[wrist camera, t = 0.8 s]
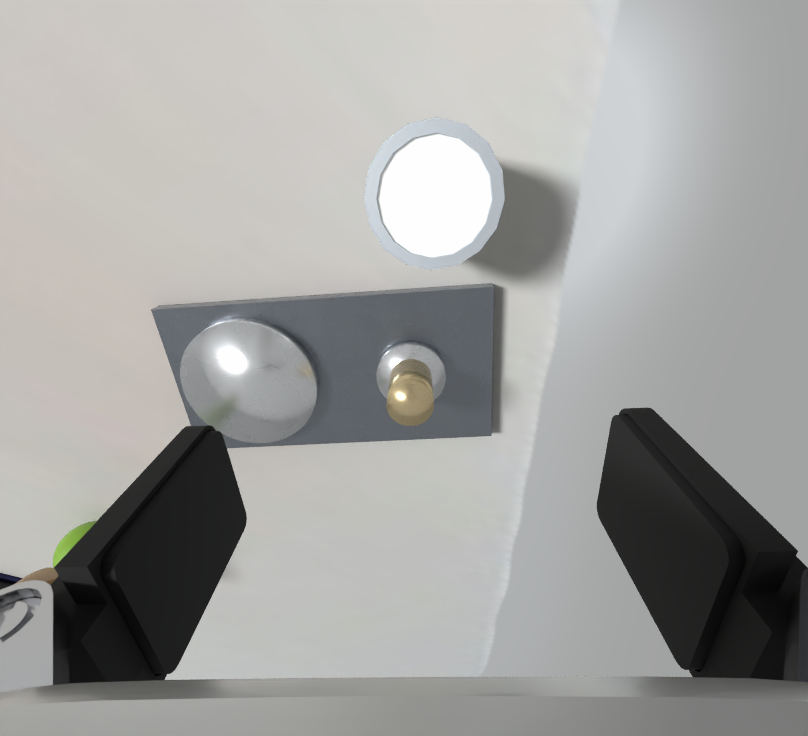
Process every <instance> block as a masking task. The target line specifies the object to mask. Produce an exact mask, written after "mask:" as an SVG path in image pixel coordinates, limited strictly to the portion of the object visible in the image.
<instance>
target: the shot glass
mask: <svg viewBox="0 0 808 736" xmlns="http://www.w3.org/2000/svg"><path fill="white" fill-rule="evenodd" d="M364 201H365V206H366V211H367V216H368V220H369V225H370V228H371V229H372V231H373V232H374V234H375V235H376V237H377V238H378V240H379V241H380V243H381V245H382V246H383V248H384V249H385V250H386V251H387V252H389V253H390V254H392V255H393V256H395V257H396V258H397V259H399V260H400V261H402V262H403V263H405V264H406V265H410V266H415V267H419V268H424V269H428V270H435V269H441V268H446V267H451V266H457V265H458V264H460V263H462V262H463V261H465V260H466V259H468V258H470V257H471V256H473V255H474V254H476V253H477V252H479V251H480V250H481V249H482V247H483V246H484V245H485V243H486V242H487V241H488V239H489V238H490V237H491V235H492V234H493V233H494V231H495V230H496V228H497V225H498V222H499V218H500V215H501V211H502V208H503V205H504V201H505V196H504V183H503V171H502V168H501V166H500V164H499V162H498V160H497V158H496V156H495V154H494V152H493V150H492V148H491V146H490V144H489V143H488V142H487V141H486V140H485V139H484V138H482V137H481V136H480V135H479V134H477V133H476V132H475V131H474V130H473V129H471V128H470V127H469V126H468V125H466V124H464V123H460V122H456V121H451V120H447V119H443V118H439V117H435V118H431V119H426V120H422V121H417V122H413V123H408V124H407V125H405V126H404V127H403V128H402V129H400V130H399V131H398V132H396V133H395V134H394V135H392V136H391V137H390V138H388V139H387V140H386V141H384V142H383V144H382V146H381V148H380V149H379V151H378V153H377V155H376V156H375V158H374V160H373V162H372V163H371V165H370V167H369V168H368V175H367V181H366V188H365V194H364Z"/></svg>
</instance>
